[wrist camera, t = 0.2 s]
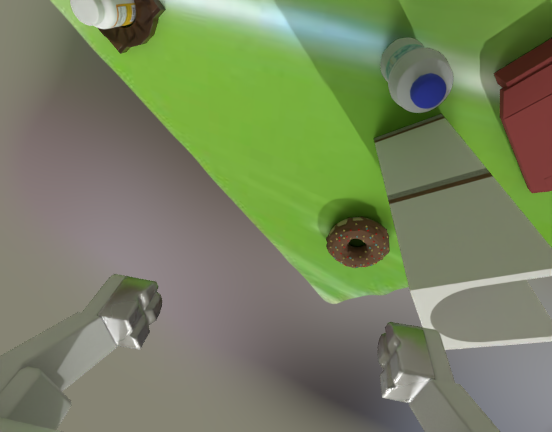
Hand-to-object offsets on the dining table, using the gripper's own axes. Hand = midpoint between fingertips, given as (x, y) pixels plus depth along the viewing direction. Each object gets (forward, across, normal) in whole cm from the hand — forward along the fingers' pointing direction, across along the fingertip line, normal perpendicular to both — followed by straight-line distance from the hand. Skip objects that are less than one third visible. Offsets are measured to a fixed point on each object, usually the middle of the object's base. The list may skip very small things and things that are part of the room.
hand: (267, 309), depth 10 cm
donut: (+48, -14, +36) cm, 62 cm away
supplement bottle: (+48, +33, -5) cm, 59 cm away
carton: (+48, -38, +6) cm, 62 cm away
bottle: (+48, -12, -1) cm, 50 cm away
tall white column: (+48, -19, +14) cm, 54 cm away
